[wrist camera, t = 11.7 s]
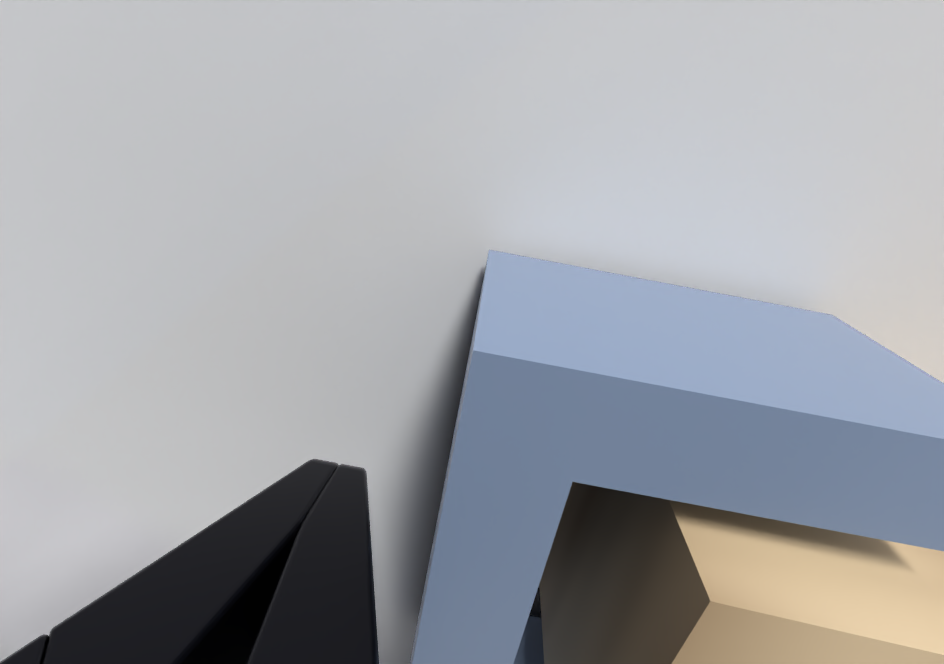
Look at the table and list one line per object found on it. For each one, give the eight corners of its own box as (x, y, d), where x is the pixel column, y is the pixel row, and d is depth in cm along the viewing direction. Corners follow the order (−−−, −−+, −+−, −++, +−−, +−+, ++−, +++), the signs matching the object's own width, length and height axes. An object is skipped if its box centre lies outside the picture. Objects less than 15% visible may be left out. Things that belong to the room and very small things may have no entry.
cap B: (831, 314, 6) (1075, 465, 4) (648, 675, 9) (705, 904, 7) (489, 249, 6) (473, 349, 4) (415, 631, 9) (376, 845, 7)
